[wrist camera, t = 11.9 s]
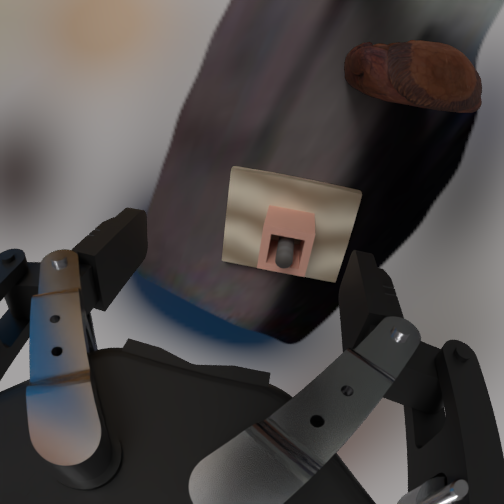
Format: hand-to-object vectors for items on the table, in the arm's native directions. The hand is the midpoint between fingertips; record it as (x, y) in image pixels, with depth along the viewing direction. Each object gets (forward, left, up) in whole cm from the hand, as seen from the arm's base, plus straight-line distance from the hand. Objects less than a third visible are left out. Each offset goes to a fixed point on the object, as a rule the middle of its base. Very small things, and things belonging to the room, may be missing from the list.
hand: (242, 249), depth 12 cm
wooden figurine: (-10, +11, -30) cm, 34 cm away
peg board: (+13, +2, -30) cm, 33 cm away
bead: (+13, +2, -29) cm, 32 cm away
